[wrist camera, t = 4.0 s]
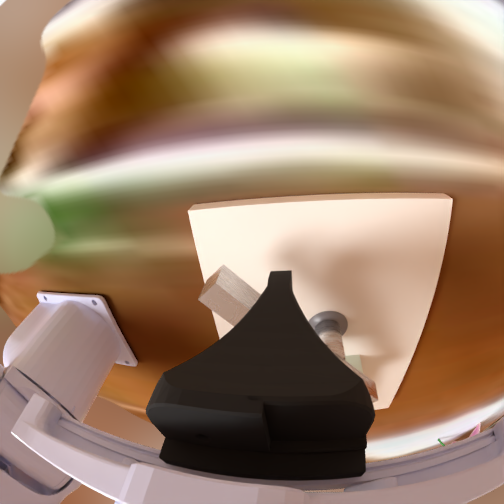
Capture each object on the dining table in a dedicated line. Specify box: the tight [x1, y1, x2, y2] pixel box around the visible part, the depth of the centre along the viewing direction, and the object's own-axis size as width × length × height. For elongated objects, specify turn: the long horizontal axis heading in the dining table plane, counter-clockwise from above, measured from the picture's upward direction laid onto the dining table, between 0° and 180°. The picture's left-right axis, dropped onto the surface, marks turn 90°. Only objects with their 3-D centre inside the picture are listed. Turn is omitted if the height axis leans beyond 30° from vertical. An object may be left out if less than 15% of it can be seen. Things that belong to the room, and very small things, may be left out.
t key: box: [198, 264, 378, 403], centre depth 14 cm, size 2×12×4 cm, turn 48°
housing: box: [188, 193, 453, 410], centre depth 17 cm, size 14×20×1 cm
